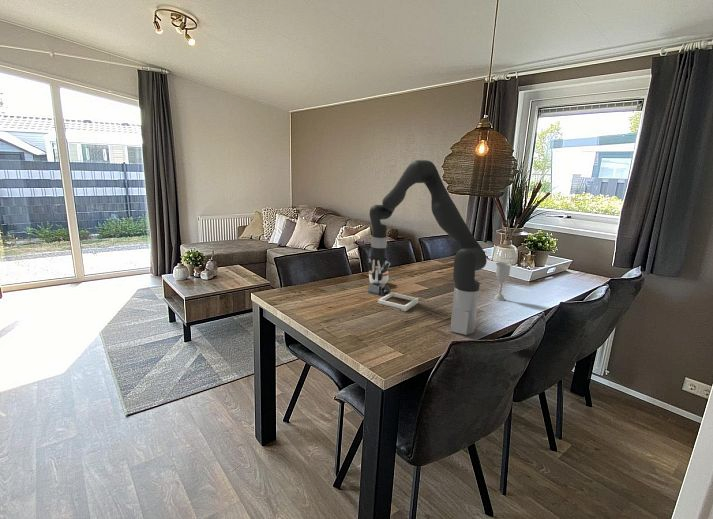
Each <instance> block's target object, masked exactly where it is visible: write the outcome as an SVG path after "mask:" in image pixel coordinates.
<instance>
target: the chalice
mask: <svg viewBox="0 0 713 519" xmlns="http://www.w3.org/2000/svg"><path fill="white" fill-rule="evenodd" d="M495 264H496V268H495V275H496V278H497V281H498V282H499V288H498V293H497V294H495V296H494V298H493V300H495V301H498V300H499V302H500V301H501V302H503V301H505V297H504V294H503V293H502V291H503V289H502V288H503V283H505V282H506V281H507V280H508V278H509V276H510V272H511V268H512V265H513V264H511V263H507V262H496V263H495Z"/></svg>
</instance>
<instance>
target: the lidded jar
mask: <svg viewBox="0 0 713 519" xmlns="http://www.w3.org/2000/svg"><path fill="white" fill-rule="evenodd" d="M389 275H390V271H388V270H387V272H385V273H383V276H382V280H381V281H379V283H383V284H385V285H387V283H388V281H389ZM368 280H369V282H370V284H371V283H373V282H375V280H373V278H372V271H369V270H368Z"/></svg>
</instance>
